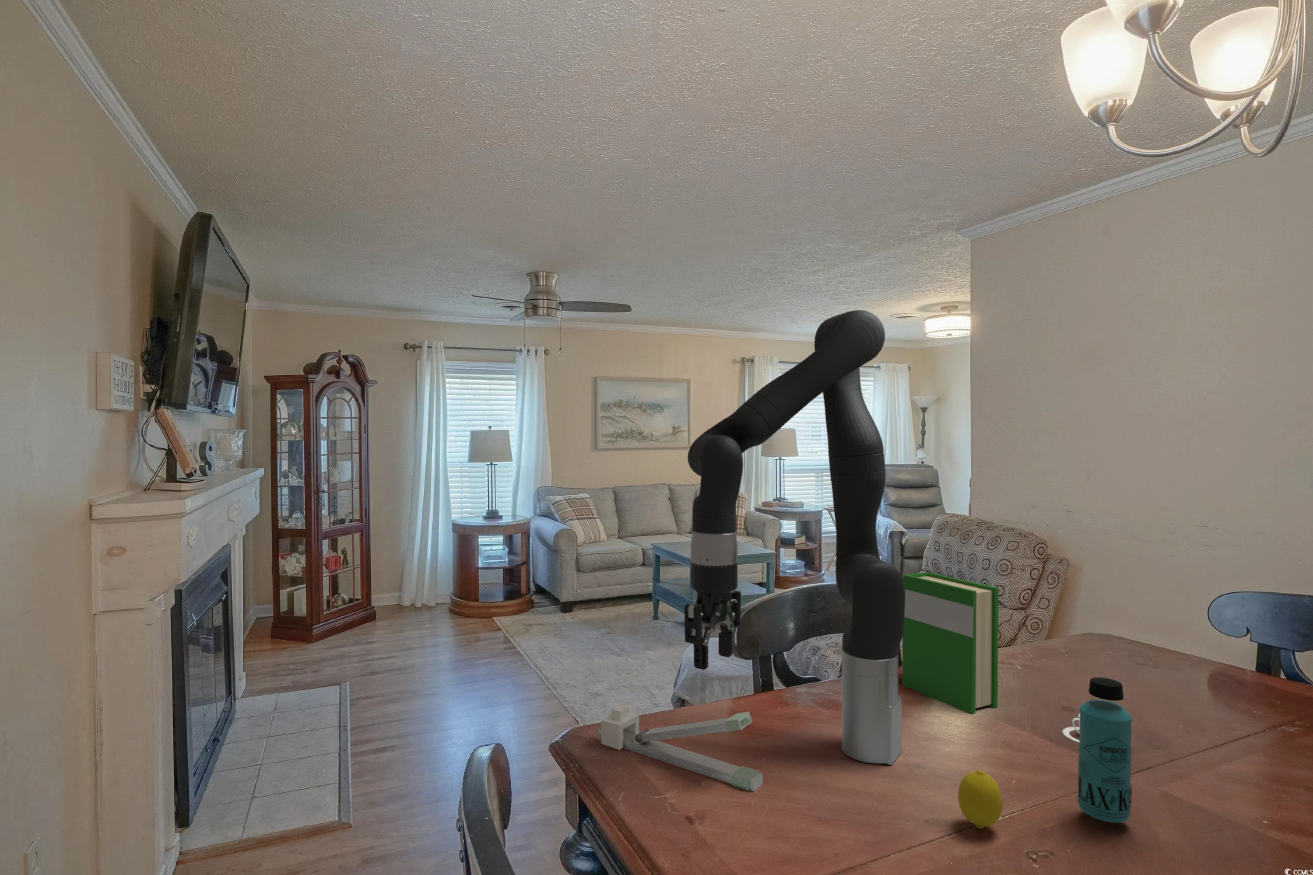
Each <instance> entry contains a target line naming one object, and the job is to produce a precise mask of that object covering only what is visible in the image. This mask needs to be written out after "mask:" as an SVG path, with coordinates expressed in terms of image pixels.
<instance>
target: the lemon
mask: <svg viewBox="0 0 1313 875" xmlns="http://www.w3.org/2000/svg"><path fill="white" fill-rule="evenodd" d="M959 783H960V784H959V787H958V796H957V797H958V799H957V800H958V805H959V808H960V811H961V812H962V814H963V816H964V817H965V819H966V820H968V821H969V822H970V823H972V824H973V825H974V826H975V827H976V828H978V829H981V830H982V829H983V828H985V827H991V826H993V825H995V824H996V823H997V822H998V821H999V819H1000V818H1001V815H1002V810H1003V797H1002V793H1001V788H1000V786H999V785H998V783H997V781H996V780H995V779H994V778H993V777H992V776H990V775H989V774H987V773H986V772H984V771H983V770H981V769H977V770H976V771H975V770H974V771H969V772H968V773H967V774H965V775H964V776H963V777H962V779H961V781H960V782H959Z"/></svg>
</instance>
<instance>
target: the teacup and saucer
mask: <svg viewBox="0 0 1313 875" xmlns="http://www.w3.org/2000/svg"><path fill="white" fill-rule="evenodd" d="M1075 721H1078V726H1076V725H1075ZM1071 723H1072V726H1069V727H1065V728H1063V729H1062V734H1063V735H1064V736H1065V737H1066V738H1068V739H1070V740H1071V741H1073V742H1077V743H1079V740H1080V739H1077V738H1075V737H1073V736H1072V735H1071V734H1070V732H1072V731H1076V732H1077V734H1079V735H1080V713H1078V716H1077V717H1074V718H1072V720H1071Z"/></svg>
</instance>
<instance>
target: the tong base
mask: <svg viewBox="0 0 1313 875" xmlns="http://www.w3.org/2000/svg"><path fill="white" fill-rule="evenodd" d="M649 730H650V729H649V728H646V729H644V730H642V731H639V734H634V733H631V732H628V731H625V730H623V748H622V749H624V750H629V751H630V752H634V753H637V754H640V755H643V756H646V757H650V758H652V759H655V760H657V761H661V762H664V763H667V764H671V765H673V766H676V767H679V768H682V769H685V770H687V771H691V772H694V773H695V774H696V773H697V774H700V775H702V776H706V777H709V778H712V779H714V780H715V779H716V780H718V781H720V782H724V783H727V784H730V785H731V786H732V787H735V788H738V789H741V790H744V791H746V792H747V791H748V792H750V791H751V792H755V791H756V790H758V788H760V786H762V785H763V784H764V783H763V782H764V779H763V776H764V774H763V773H760V771H759V770H757V769H754V768H750V767H747V766H744V765H742V766H738V765H736V764H732V763H729V762H725V761H722V760H719V759H716V758H713V757H710V756H706V755H704V754H701V753H698V752H694V751H691V750H688V749H685V748H681V747H678V746H675V745H672V744H668V743H666V742H663V741H660V740H655V741H647V742H643V739H642V734H644V733H645V732H647V731H649ZM596 732H597V733H596V734H597V735H596V736H597V737H596V738H597V740H598V741H601V729H599V730H597V731H596Z"/></svg>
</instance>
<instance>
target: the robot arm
mask: <svg viewBox="0 0 1313 875" xmlns="http://www.w3.org/2000/svg"><path fill="white" fill-rule="evenodd" d="M885 340H886V331H885V328H884V324H883V322H882V321H881V319H880V318H879V317H878V316H877V314H876V315H875V314H874V313H872V312H870V311H868V310H864V309H863V310H862V309H856V310H851V311H850V310H849V311H846V312H843V313H840V314H838V315H834V316H832V317H829V318H826V319H825V320H824V321H823V322H821V323H820V324H819V326H818V327H817V330H816V332H815V335H814V343H813V344H814V350H813V352H812V353H811V354H810V355H808V356H807V357H805V358H804V359H803V360H802V361H800V362H799V363H797V364H796V365H795V366H793V367H791V368H790V369H788V370H786V372H784V373H782V374H780V375H779V376H777V377H775V378H774V379H772V380H771V381H769V382H768V383H767V384H765V385H764V386H762V387H761V388H760V389H759V390H757V391H756V392H755V393H754V394H752V395H751V397H749V398H748V399H747V400H746V401H744V403H742V404H740V406H738V408H737V409H736V410H735V411H734V412H732V414H730V415H729V416H727V417H724V418H723V419H722V420H720V421H719V422H717V423H716V424H714V425H713V426H711V427H710V428H708V429H707V430H705V431H704V432H702V433H701V434H700V435H699V436H698V437H697V438H695V440H694V441H693V442H692V444H691V445H690V447H689V450H688V452H687V463H688V466H689V467H690V469H691V471H692V472H693V473H694V474H695V475H698V476H700V484H699V485H700V486H699V492H698V493H699V494H698V495H697V496H696V497H695V498H694V499H693V502H692V533H691V541H690V588H691V589H692V590H694V591H695V592H696V593H697V594H696V595H697V596H696V599H695V600H696V601H695V603H694V604H691V603H686V604H685V605H684V608H683V609H684V611H683V612H684V615H683V616H684V642H685V643H689V644H692V645H693V667H694V668H695V669H698V670H702V671H705V670H707V669H708V668H709V643H710V642H709V641H710V638H711V634H713V633H714V632H715V630H716V627H718V630H719V632H718V655H719V656H720V657H725V658H730V657H731V656H733V634H735V631H736V628H739V627H740V626H741V610H742V609H741V608H742V605H741V604H742V602H741V601H742V592H741V591H738V590H737V588H738V581H739V580H738V577H739V576H738V573H739V572H738V565H739V564H738V563H739V562H738V557H739V556H738V552H739V551H738V550H739V549H738V546H739V545H738V539H737V532H736V531H737V501H738V498H739V494H740V489H741V483H742V479H743V478H742V477H743V470H744V459H743V453H745V452H746V451H747V450H749V449H751V448H753V447H758V446H760V445H762V444H764V443H766V442H767V441H768V440H769V439H770V438H771V437H772V436H773V435H774V434H775V433H777V432H778V431H779V430H781V429H782V427H783V426H785V425H786V424H787V423H788V422H789V421H790V420H791V419H793V418H794V416H796V415H797V414H798V413H799V412H801V411H802V410H803V409H804V408H805V407H806V406H807V405H809V404H810V403H811V402H812V401H813V400H815V399H816V398H817V397H818V396H820V395H821V394H822V396H823V405H824V417H825V425H826V427H825V428H826V435H827V449H828V450H827V452H828V464H829V466H828V468H829V475H830V484H831V491H832V504H833V505H832V506H833V513H834V520H835V521H834V524H835V536H836V537H835V538H836V540H835V582H836V583H835V584H836V587H837V591H838V592H839V594H840V596H841V598H842V599H843V600H844V601H845V602H846V603H847V604H849V605H851V608H852V611H851V612H852V613H851V627H850V629H847V630H845V631H844V633H843V634H842V639H841V640H842V641H841V644H842V645H841V646H842V648H841V654H842V655H841V658H842V659H841V664H842V665H841V737H840V738H841V750H842V751H843V754H845V755H847V756H848V757H849V758H851V759H853V760H857V761H860V762H863V763H869V764H885V765H892V764H893V763H895V761H896V760H897V758H898V757H899V756H900V754H901V753H902V741H903V739H902V738H903V737H902V734H903V732H902V729H903V727H902V726H903V725H902V723H903V722H902V720H903V718H902V715H903V708H902V707H903V706H902V705H903V702H902V701H903V698H902V696H900V695H899V648H900V644H901V643H902V642H901V641H903V631H904V614H905V586H904V581H903V575H902V573H901V572H900V571H899V569H897V567H896V566H894V565H893V564H892V563H889V562H887V561H884V560H882V559H881V558H880V553H879V552H880V551H879V549H878V548H879V547H878V537H877V520H878V515H879V511H880V507H881V504H882V500H883V498H884V492H885V487H886V474H887V473H886V461H885V449H884V443H883V440H882V436H881V433H880V430H879V429H878V427H877V424H876V423H875V420H874V418H873V417H872V414H871V412H870V411H869V409H868V406H867V404H866V402H865V400H864V396H863V393H862V391H863V390H862V385H861V374H860V373H861V372H860V370H861V367H863V366H864V365H866V364H867V363H869V362H871V361H872V360H874V359H875V358H877V356H878V355H879V354H880V353H881V351H882V349H883V347H884V346H885V345H884V344H885ZM733 613H734V614H733ZM692 629H693V631H692ZM703 632H704V633H703Z"/></svg>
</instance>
